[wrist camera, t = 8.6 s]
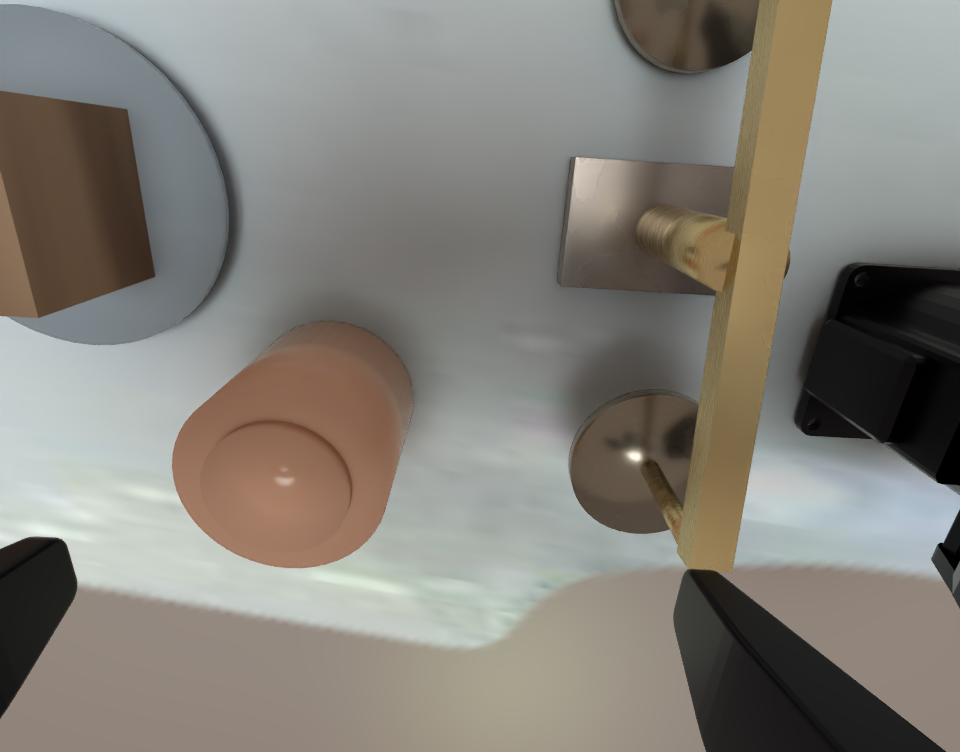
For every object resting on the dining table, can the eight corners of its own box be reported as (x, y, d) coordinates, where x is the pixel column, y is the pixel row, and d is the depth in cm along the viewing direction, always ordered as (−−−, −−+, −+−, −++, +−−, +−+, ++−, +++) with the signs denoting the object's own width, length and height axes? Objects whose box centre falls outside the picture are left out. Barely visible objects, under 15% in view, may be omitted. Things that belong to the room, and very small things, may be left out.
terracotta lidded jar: (414, 325, 19) (383, 400, 13) (412, 467, 22) (385, 585, 16) (249, 316, 19) (143, 387, 13) (265, 459, 22) (180, 575, 16)
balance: (823, -126, 14) (1266, -498, 6) (682, 471, 22) (804, 660, 13) (604, -142, 14) (766, -542, 6) (536, 463, 21) (568, 649, 13)
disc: (217, 25, 16) (199, 16, 15) (251, 343, 20) (239, 353, 19) (-124, 2, 16) (-166, -9, 15) (-23, 327, 19) (-51, 336, 18)
